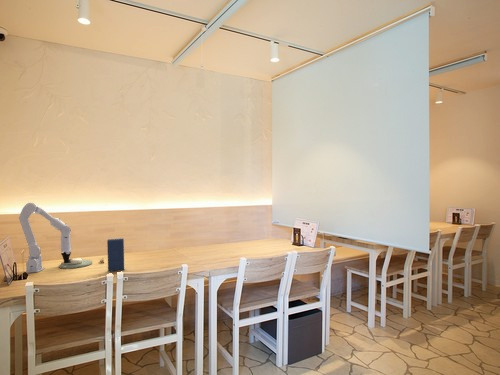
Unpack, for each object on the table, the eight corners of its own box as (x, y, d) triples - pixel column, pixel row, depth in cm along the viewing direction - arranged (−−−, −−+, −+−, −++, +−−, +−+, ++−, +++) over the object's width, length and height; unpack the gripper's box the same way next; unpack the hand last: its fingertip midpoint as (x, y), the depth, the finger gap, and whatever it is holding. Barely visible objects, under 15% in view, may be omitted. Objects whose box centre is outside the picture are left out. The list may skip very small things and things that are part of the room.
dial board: (87, 267, 212) (87, 264, 212) (54, 269, 208) (54, 266, 208) (95, 260, 231) (95, 257, 231) (65, 262, 227) (65, 259, 227)
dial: (83, 261, 224) (83, 257, 224) (80, 263, 217) (79, 259, 217) (66, 262, 221) (66, 258, 221) (62, 265, 215) (62, 260, 215)
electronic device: (124, 268, 209) (123, 238, 208) (124, 270, 204) (123, 239, 203) (108, 269, 205) (107, 239, 205) (107, 272, 201) (107, 240, 200)
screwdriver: (103, 263, 224) (103, 260, 224) (100, 263, 223) (100, 260, 223) (104, 259, 235) (104, 256, 235) (100, 259, 234) (100, 256, 234)
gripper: (74, 243, 214) (75, 263, 214) (70, 241, 225) (70, 260, 225) (62, 245, 209) (63, 265, 209) (58, 242, 220) (59, 261, 220)
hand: (66, 263), depth 217 cm, fingers closed, pressing on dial
